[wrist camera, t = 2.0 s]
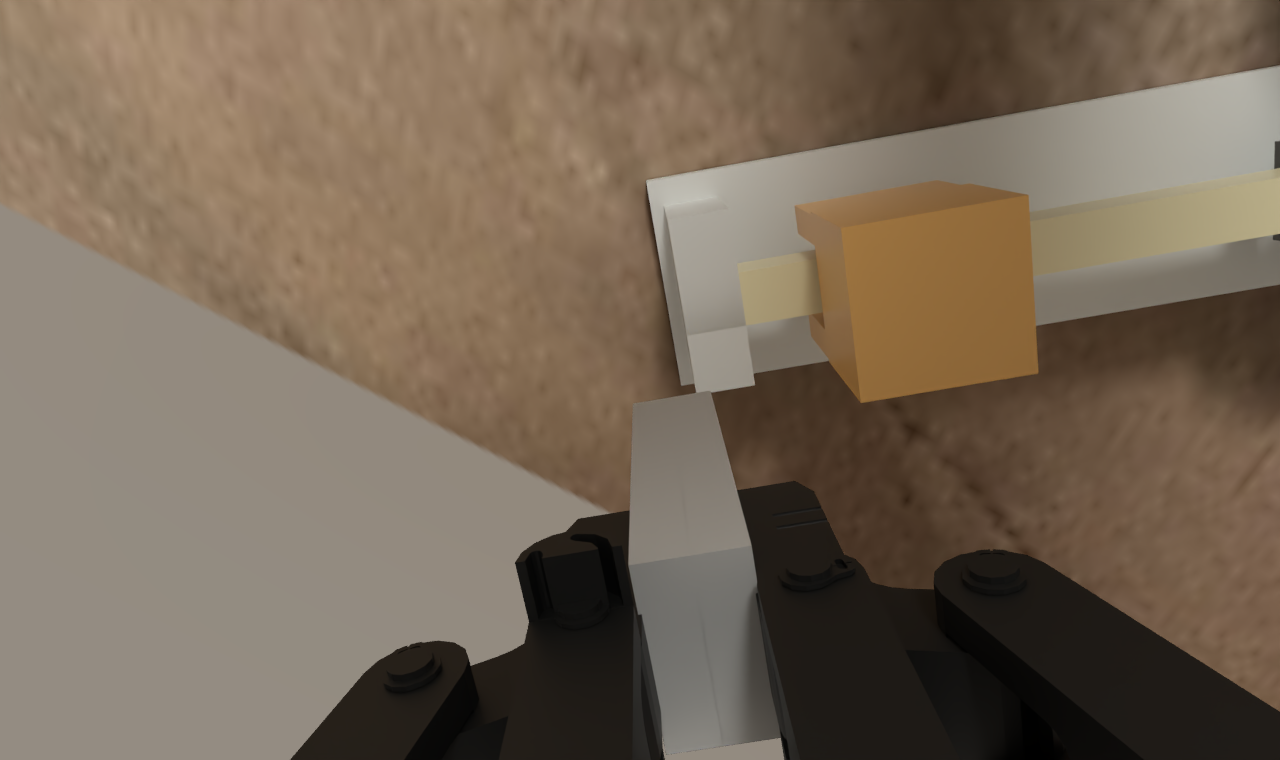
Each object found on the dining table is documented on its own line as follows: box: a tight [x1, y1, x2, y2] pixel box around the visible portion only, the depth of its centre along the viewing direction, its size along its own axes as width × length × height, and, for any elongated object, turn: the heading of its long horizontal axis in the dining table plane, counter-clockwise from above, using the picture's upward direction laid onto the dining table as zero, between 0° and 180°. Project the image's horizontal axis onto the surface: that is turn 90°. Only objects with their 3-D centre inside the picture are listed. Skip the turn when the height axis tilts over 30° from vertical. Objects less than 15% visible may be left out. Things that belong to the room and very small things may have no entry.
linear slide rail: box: [646, 65, 1280, 393], centre depth 31 cm, size 8×29×7 cm, turn 100°
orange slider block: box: [794, 180, 1038, 403], centre depth 28 cm, size 5×5×8 cm
